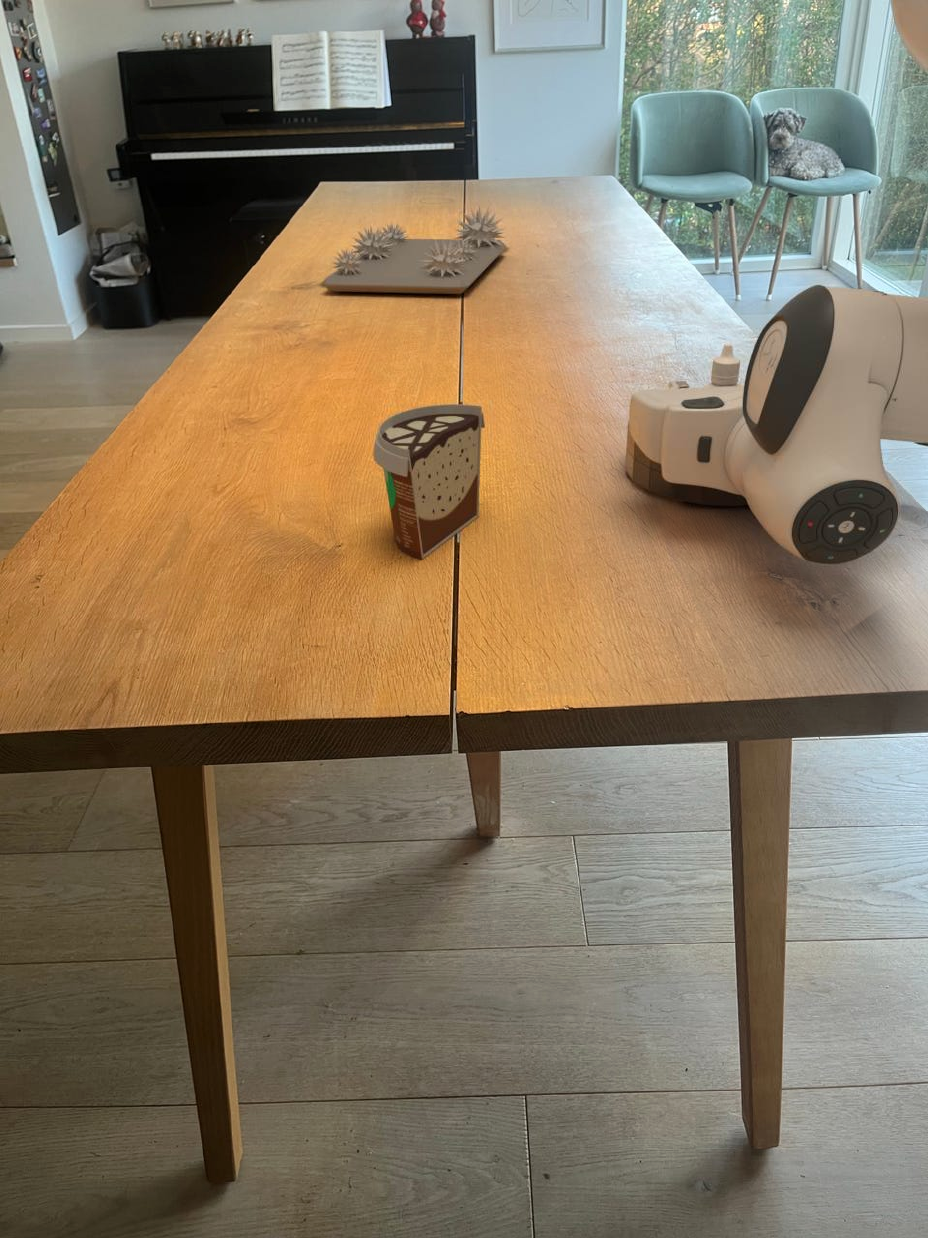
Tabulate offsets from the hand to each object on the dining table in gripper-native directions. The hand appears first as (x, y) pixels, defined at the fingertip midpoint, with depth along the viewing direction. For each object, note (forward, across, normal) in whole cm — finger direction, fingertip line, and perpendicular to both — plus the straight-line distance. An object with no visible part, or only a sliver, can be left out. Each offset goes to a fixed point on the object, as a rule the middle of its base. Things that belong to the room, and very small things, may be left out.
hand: (726, 386), depth 91 cm
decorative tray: (+95, +28, +9) cm, 100 cm away
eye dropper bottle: (0, 0, +8) cm, 8 cm away
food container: (-10, +29, +9) cm, 31 cm away
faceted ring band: (0, 0, +9) cm, 9 cm away
